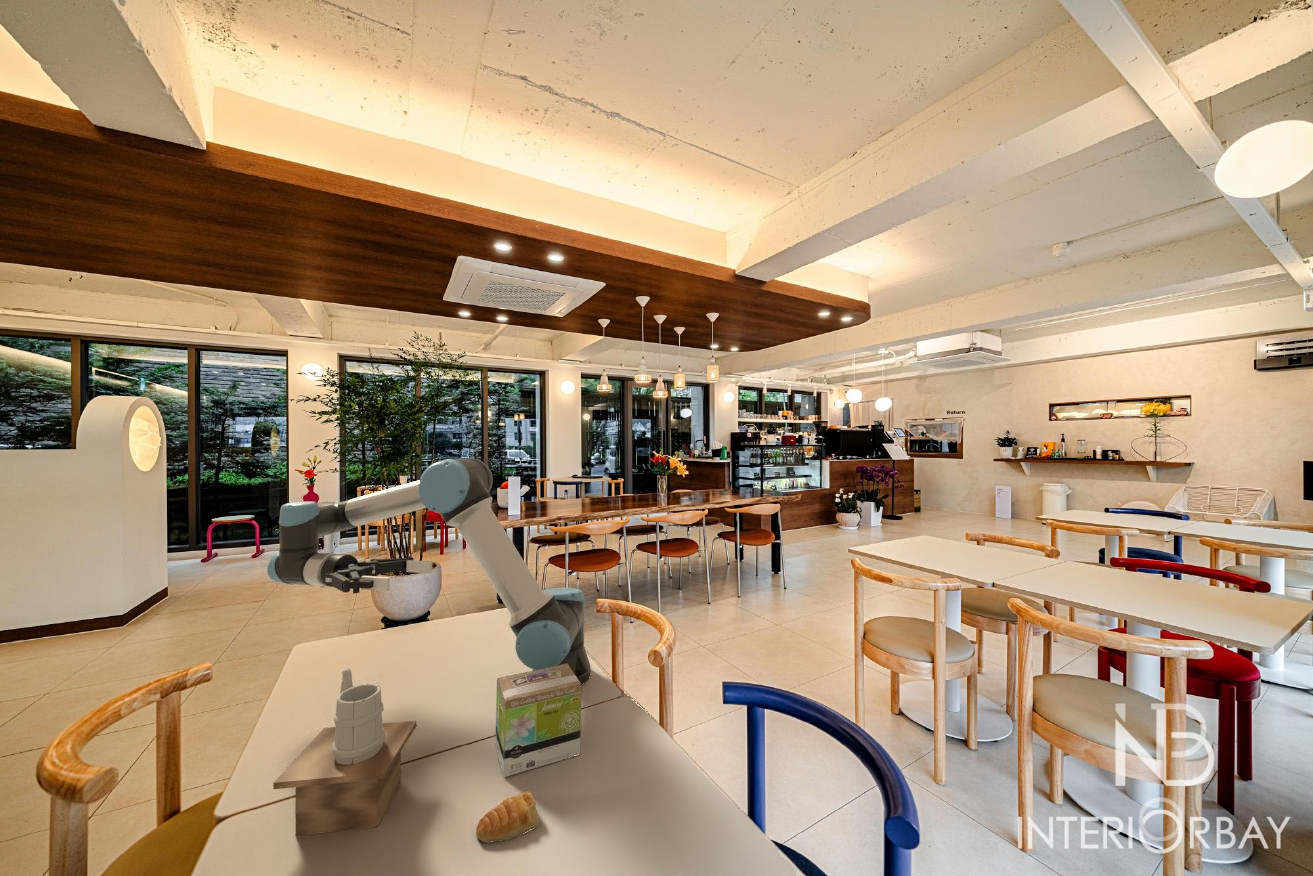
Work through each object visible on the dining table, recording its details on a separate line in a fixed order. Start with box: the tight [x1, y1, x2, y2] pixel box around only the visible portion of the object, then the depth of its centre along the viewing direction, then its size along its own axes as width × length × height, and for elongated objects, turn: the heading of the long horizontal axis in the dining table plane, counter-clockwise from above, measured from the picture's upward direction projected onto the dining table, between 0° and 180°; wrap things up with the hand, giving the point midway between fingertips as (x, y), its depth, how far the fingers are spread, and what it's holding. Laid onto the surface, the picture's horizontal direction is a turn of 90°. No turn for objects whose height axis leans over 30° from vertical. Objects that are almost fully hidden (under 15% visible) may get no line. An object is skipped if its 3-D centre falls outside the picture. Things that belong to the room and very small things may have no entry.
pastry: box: [475, 790, 540, 843], centre depth 77 cm, size 9×7×4 cm
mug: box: [332, 668, 385, 765], centre depth 81 cm, size 8×12×12 cm, turn 51°
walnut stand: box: [272, 720, 418, 837], centre depth 81 cm, size 16×14×10 cm
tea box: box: [494, 664, 582, 779], centre depth 95 cm, size 15×10×15 cm
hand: (411, 575), depth 108 cm, fingers open, 13 cm apart
